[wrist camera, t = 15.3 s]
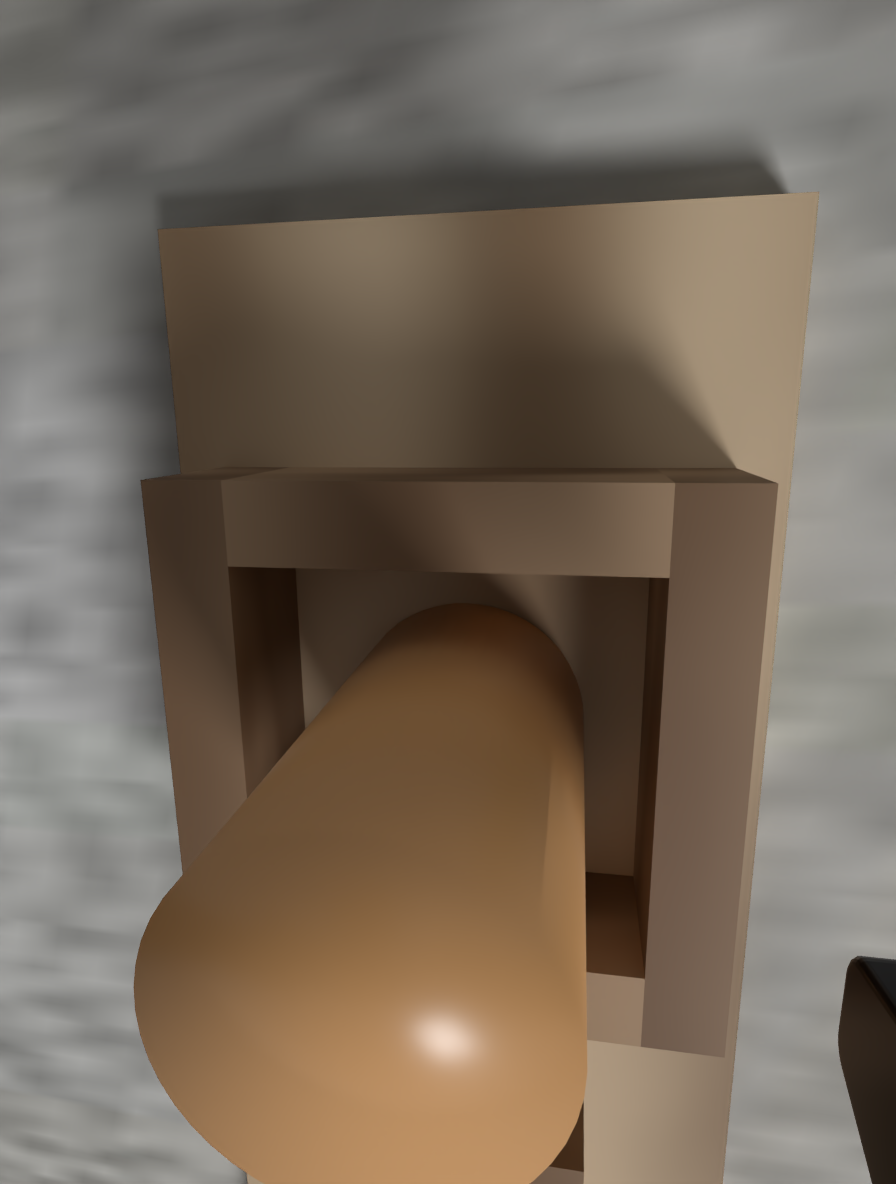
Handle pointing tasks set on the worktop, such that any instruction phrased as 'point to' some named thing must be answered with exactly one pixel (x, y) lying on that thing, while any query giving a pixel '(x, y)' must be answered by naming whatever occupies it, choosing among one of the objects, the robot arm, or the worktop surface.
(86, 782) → the worktop surface
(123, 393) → the worktop surface
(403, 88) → the worktop surface
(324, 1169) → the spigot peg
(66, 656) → the worktop surface
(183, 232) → the dock board
